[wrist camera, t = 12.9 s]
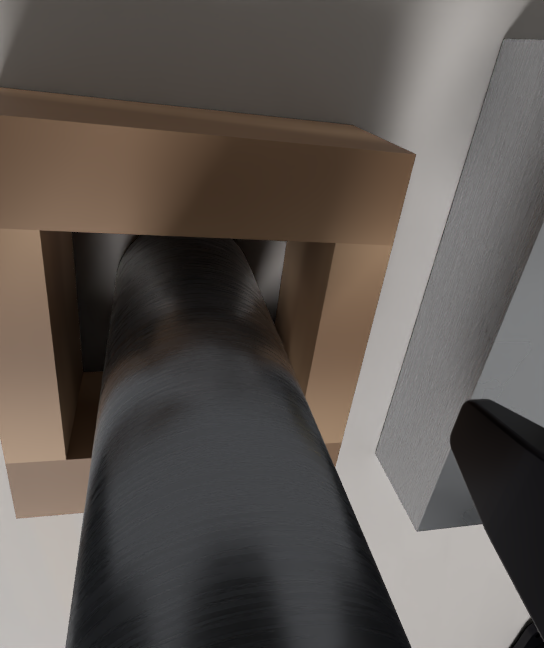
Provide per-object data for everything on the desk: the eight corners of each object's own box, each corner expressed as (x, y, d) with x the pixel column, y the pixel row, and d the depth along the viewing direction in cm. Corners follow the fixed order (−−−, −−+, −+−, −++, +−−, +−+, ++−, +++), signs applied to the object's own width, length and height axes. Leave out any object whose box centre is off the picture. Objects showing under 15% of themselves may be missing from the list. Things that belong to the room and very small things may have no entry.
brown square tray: (297, 411, 14) (328, 490, 12) (42, 422, 13) (16, 518, 10) (352, 125, 11) (416, 154, 8) (-4, 87, 9) (-66, 108, 6)
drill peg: (245, 341, 13) (380, 783, 5) (118, 342, 12) (65, 863, 5) (258, 225, 11) (475, 614, 4) (112, 218, 11) (19, 694, 3)
